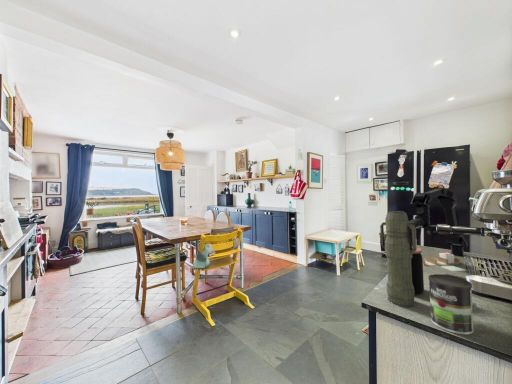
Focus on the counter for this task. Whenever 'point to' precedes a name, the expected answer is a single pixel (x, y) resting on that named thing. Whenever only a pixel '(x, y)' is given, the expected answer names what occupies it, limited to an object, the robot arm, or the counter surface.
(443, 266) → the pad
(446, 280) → the coffee can
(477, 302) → the counter surface
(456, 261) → the slot rack
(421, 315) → the counter surface
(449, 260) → the letter cube
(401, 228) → the thermos
